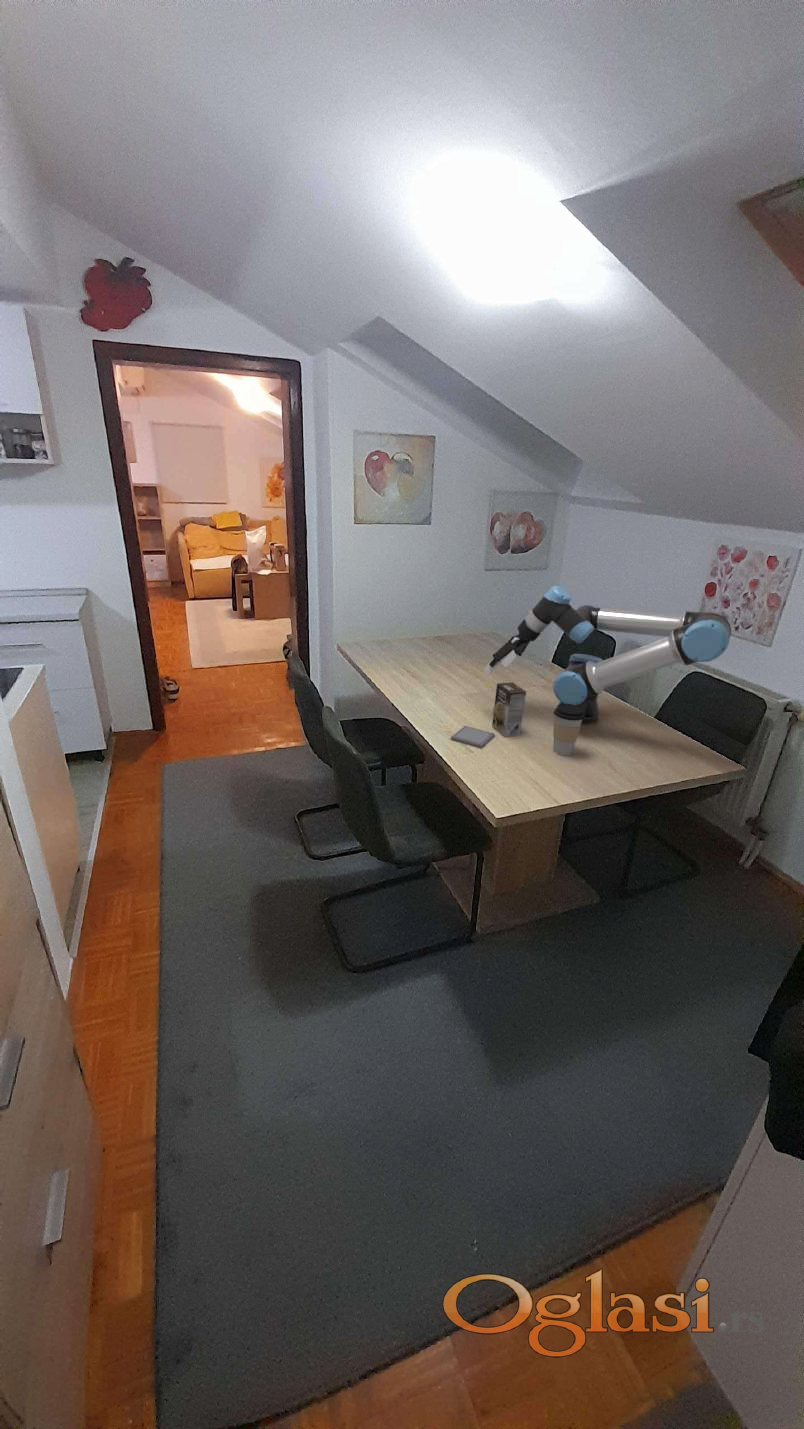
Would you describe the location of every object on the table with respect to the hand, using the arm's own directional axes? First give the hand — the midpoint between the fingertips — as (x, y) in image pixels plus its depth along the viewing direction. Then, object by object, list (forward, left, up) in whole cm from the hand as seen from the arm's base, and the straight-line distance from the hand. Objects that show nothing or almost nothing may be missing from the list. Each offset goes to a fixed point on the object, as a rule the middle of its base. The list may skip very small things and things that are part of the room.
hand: (495, 668), depth 211 cm
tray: (-5, +27, -16) cm, 32 cm away
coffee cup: (-33, +19, -16) cm, 41 cm away
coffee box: (-12, +15, -16) cm, 25 cm away
